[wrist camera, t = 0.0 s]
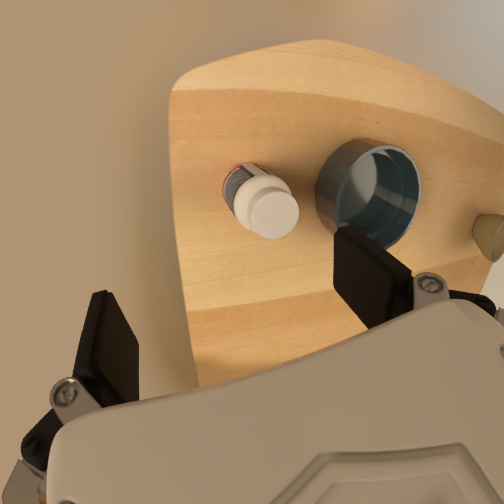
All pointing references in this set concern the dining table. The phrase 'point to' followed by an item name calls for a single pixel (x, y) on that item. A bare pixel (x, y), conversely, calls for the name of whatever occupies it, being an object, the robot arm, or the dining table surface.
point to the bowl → (369, 190)
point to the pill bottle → (260, 200)
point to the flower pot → (490, 235)
